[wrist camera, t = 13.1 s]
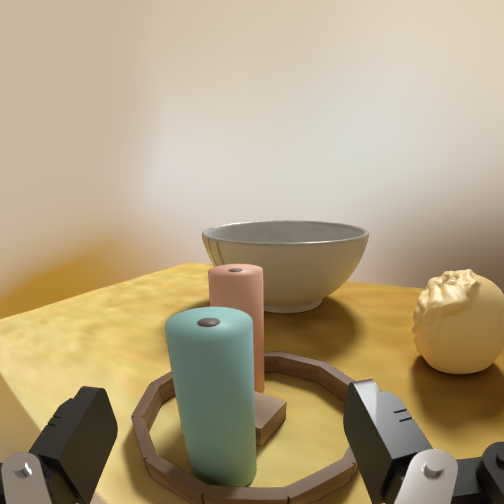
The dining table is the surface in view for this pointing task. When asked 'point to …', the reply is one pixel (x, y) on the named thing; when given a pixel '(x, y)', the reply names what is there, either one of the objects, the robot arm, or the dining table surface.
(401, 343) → the dining table surface
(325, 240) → the decorative bowl
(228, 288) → the pink cylinder
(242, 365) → the teal cylinder
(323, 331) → the dining table surface
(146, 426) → the brown ring
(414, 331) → the sculpture
